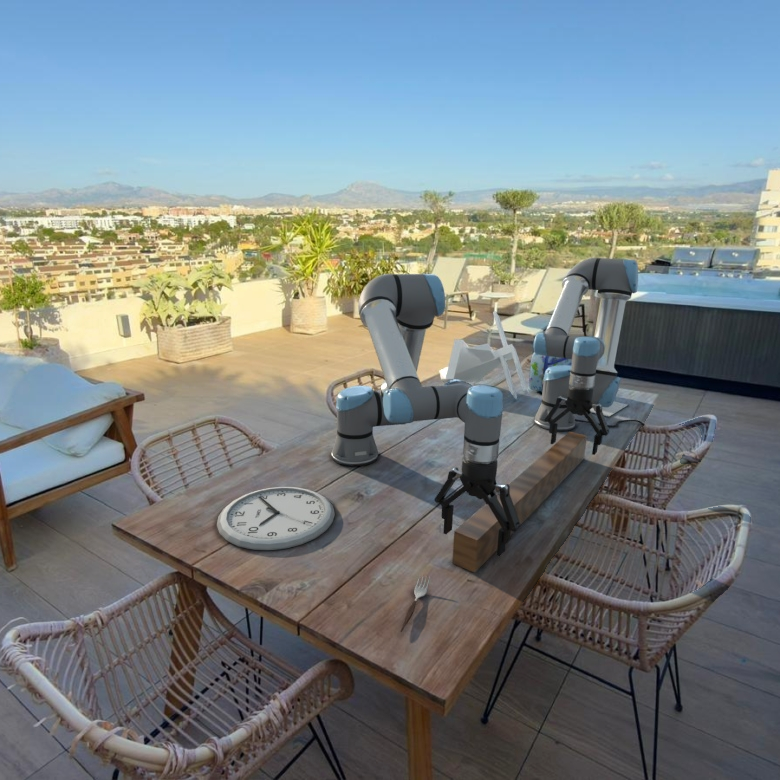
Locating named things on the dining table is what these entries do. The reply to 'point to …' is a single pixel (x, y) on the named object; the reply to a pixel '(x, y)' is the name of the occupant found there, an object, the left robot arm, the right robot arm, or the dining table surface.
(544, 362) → the lunch box
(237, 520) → the wall clock
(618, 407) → the invitation card
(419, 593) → the fork
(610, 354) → the right robot arm
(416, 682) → the dining table surface
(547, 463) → the post
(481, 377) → the white plastic object
